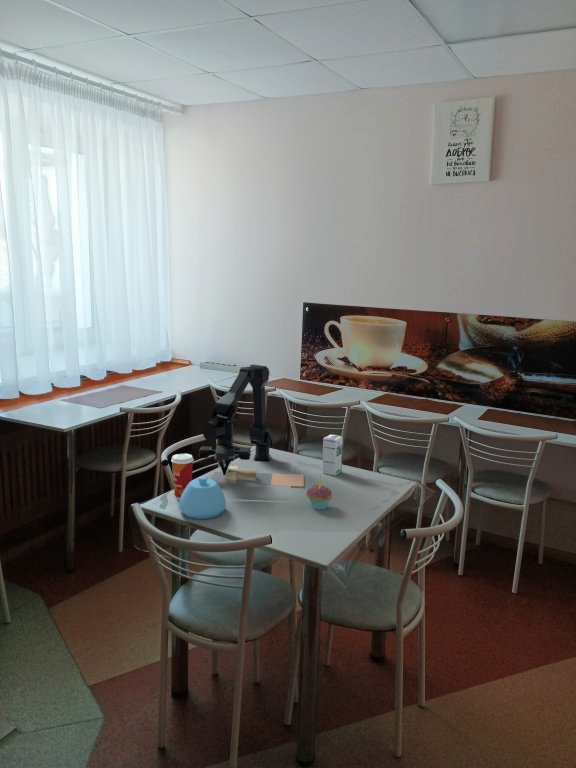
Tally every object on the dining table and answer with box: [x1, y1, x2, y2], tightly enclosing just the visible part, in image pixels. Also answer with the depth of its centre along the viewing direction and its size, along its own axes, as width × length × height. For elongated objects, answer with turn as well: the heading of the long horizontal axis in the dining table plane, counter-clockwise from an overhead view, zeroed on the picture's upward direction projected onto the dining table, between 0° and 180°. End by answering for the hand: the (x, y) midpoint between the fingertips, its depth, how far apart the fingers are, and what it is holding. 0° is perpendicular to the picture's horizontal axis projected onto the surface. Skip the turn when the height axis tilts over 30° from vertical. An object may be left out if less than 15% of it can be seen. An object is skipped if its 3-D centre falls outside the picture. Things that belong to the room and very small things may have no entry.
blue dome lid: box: [178, 476, 227, 520], centre depth 204 cm, size 15×15×12 cm
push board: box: [211, 471, 305, 488], centre depth 234 cm, size 12×34×1 cm, turn 89°
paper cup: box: [170, 453, 195, 499], centre depth 216 cm, size 8×8×14 cm
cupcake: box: [306, 474, 333, 510], centre depth 210 cm, size 9×8×12 cm
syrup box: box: [322, 434, 344, 476], centre depth 243 cm, size 6×6×14 cm
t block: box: [226, 465, 258, 483], centre depth 234 cm, size 10×10×3 cm
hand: (224, 474), depth 234 cm, fingers closed
